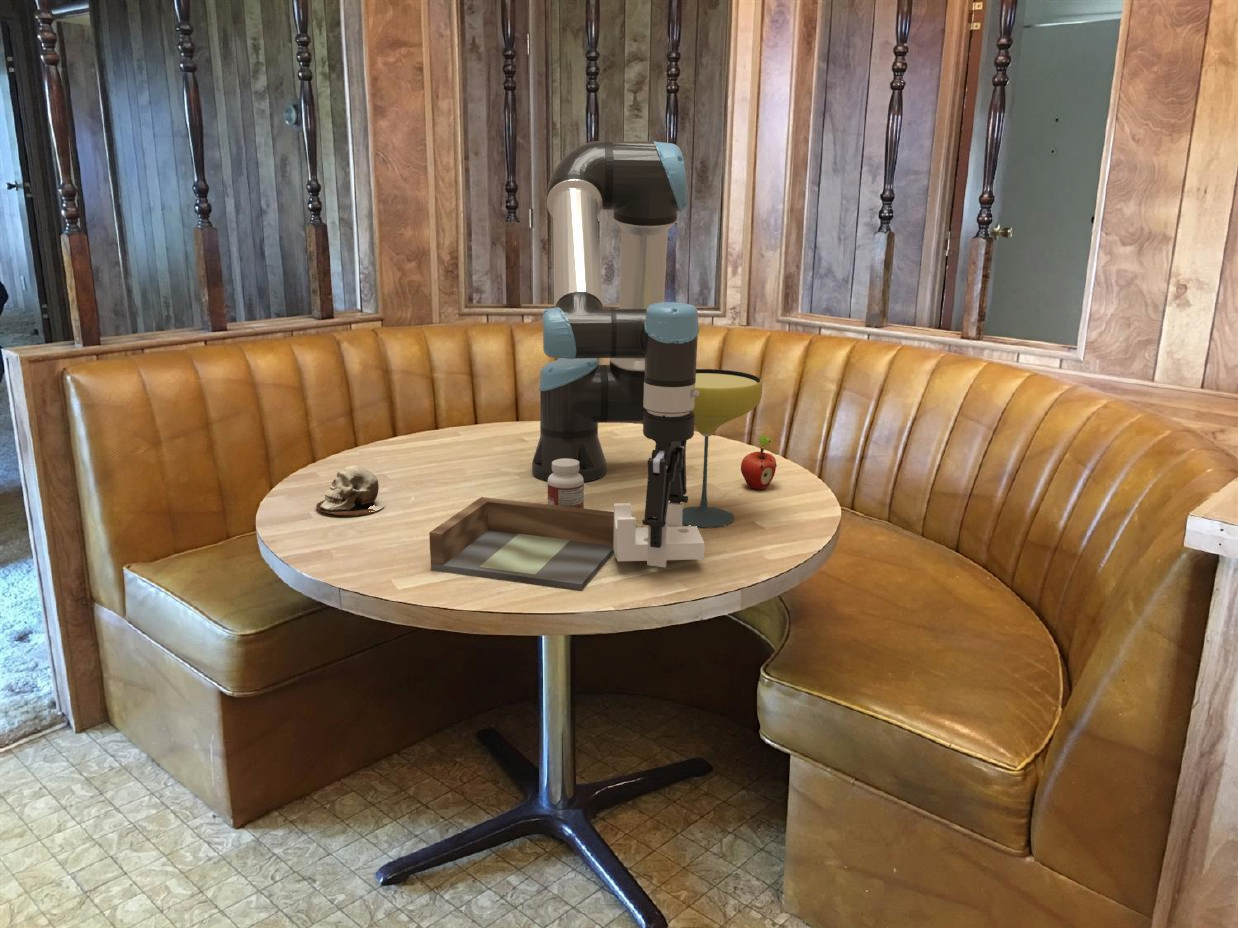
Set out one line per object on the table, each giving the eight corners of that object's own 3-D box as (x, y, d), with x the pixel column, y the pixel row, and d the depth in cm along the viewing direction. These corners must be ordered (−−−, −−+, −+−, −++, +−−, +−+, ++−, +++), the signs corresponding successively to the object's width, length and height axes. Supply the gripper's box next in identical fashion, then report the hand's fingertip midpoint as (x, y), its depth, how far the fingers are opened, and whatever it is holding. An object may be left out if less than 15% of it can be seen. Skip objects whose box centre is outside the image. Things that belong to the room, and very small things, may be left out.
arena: (482, 530, 156) (481, 496, 155) (618, 547, 150) (618, 512, 148) (431, 569, 140) (429, 532, 138) (581, 590, 133) (581, 551, 132)
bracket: (617, 567, 139) (618, 519, 136) (613, 549, 145) (613, 503, 143) (703, 565, 140) (705, 517, 138) (695, 547, 147) (697, 501, 144)
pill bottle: (547, 518, 163) (546, 457, 160) (582, 517, 164) (582, 456, 161) (548, 530, 157) (547, 467, 154) (584, 529, 158) (584, 466, 155)
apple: (777, 493, 178) (780, 443, 176) (742, 493, 178) (744, 442, 175) (771, 481, 186) (774, 433, 183) (737, 481, 186) (739, 432, 183)
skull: (332, 519, 158) (313, 467, 162) (321, 543, 166) (303, 494, 169) (398, 504, 165) (378, 454, 168) (384, 528, 173) (366, 480, 176)
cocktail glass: (728, 542, 152) (735, 393, 145) (633, 522, 161) (636, 380, 154) (770, 512, 167) (779, 375, 160) (681, 495, 176) (685, 365, 169)
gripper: (676, 430, 125) (671, 584, 132) (709, 397, 145) (703, 532, 151) (623, 426, 127) (620, 577, 134) (662, 393, 147) (659, 526, 154)
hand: (664, 553), depth 143 cm, fingers closed on bracket, 9 cm apart
